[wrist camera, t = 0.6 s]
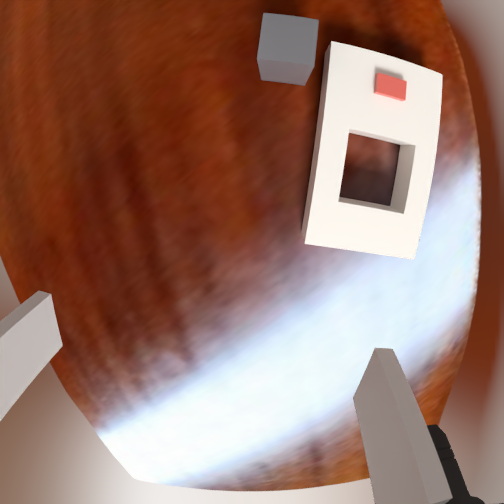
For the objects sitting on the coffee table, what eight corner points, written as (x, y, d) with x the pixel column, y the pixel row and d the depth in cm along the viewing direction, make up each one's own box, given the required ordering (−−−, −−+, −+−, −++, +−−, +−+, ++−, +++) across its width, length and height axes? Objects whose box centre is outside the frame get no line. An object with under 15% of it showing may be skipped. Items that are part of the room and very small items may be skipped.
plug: (266, 42, 26) (263, 12, 19) (308, 48, 26) (318, 19, 19) (261, 80, 28) (257, 58, 20) (304, 85, 28) (314, 66, 20)
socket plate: (324, 53, 26) (332, 38, 22) (425, 80, 26) (446, 73, 21) (301, 232, 33) (305, 246, 28) (400, 247, 33) (416, 262, 28)
